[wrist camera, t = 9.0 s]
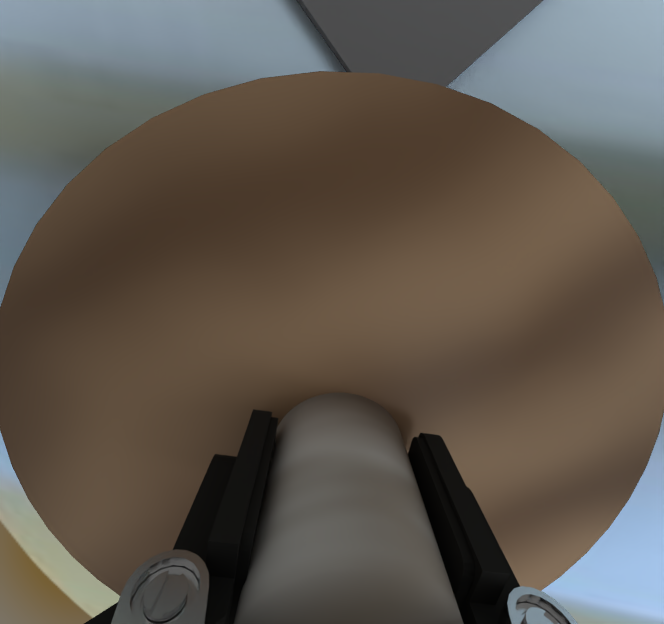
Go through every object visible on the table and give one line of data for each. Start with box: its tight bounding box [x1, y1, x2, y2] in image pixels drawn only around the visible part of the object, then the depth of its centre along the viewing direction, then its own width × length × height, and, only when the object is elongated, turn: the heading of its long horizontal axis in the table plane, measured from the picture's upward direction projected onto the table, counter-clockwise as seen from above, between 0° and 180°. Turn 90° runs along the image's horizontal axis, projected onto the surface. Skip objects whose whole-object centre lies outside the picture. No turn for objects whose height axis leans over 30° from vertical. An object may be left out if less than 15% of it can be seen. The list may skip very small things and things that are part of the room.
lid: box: [0, 71, 664, 624], centre depth 9 cm, size 20×20×6 cm
